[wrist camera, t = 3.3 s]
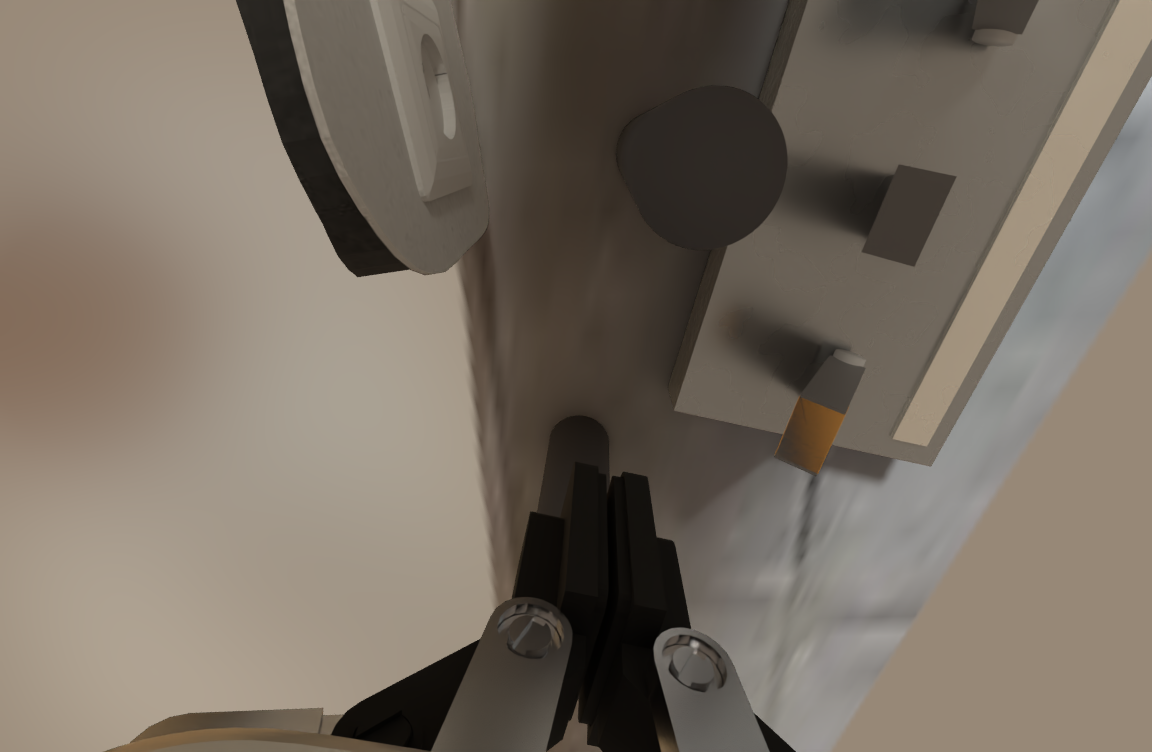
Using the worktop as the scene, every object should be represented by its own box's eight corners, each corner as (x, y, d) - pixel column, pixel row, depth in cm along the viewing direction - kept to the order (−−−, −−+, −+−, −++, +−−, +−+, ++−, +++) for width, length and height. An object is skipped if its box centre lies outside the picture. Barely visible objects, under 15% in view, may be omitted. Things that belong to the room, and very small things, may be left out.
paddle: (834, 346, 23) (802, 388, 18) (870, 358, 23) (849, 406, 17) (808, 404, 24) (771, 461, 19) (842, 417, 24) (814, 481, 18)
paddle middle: (910, 172, 20) (902, 156, 15) (953, 181, 20) (960, 168, 14) (878, 247, 22) (858, 259, 16) (917, 257, 21) (911, 273, 15)
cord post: (556, 410, 28) (521, 619, 16) (615, 422, 28) (624, 639, 16) (544, 460, 29) (503, 690, 17) (601, 472, 29) (599, 708, 17)
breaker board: (831, -134, 19) (866, -174, 16) (1159, -46, 19) (1240, -72, 17) (667, 387, 27) (674, 412, 24) (903, 438, 27) (933, 469, 25)
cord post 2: (626, 104, 22) (654, 67, 10) (699, 121, 22) (812, 106, 10) (608, 182, 23) (614, 232, 11) (678, 198, 23) (756, 264, 11)
